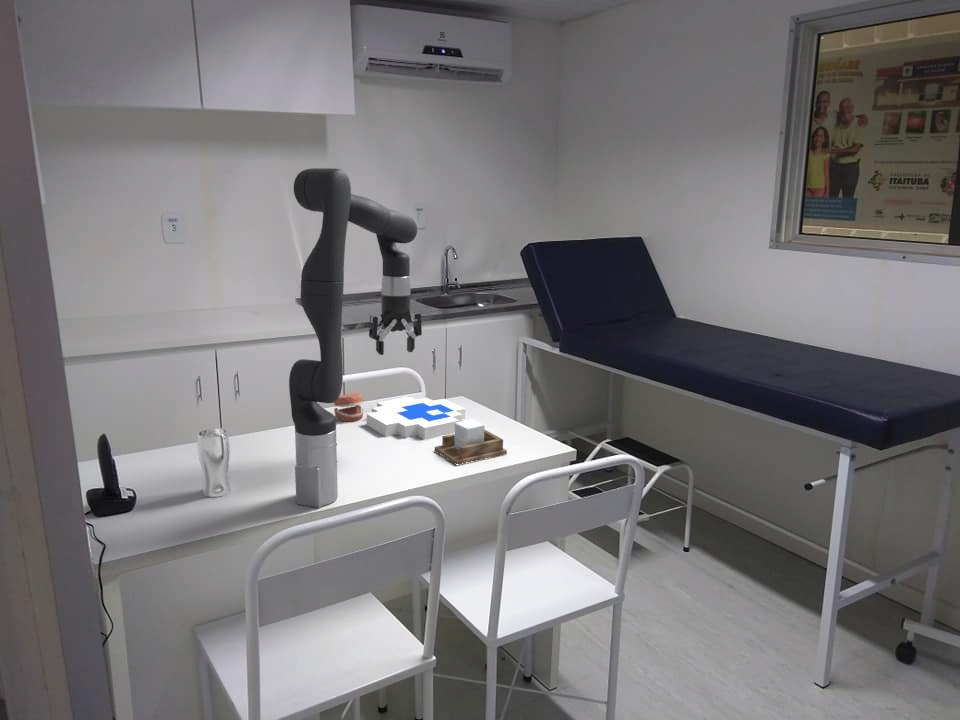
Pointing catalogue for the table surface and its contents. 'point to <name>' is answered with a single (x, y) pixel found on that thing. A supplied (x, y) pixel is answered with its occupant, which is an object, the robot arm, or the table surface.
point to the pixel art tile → (415, 417)
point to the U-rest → (471, 449)
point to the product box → (468, 433)
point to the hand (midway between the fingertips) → (395, 353)
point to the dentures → (349, 412)
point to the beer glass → (214, 460)
